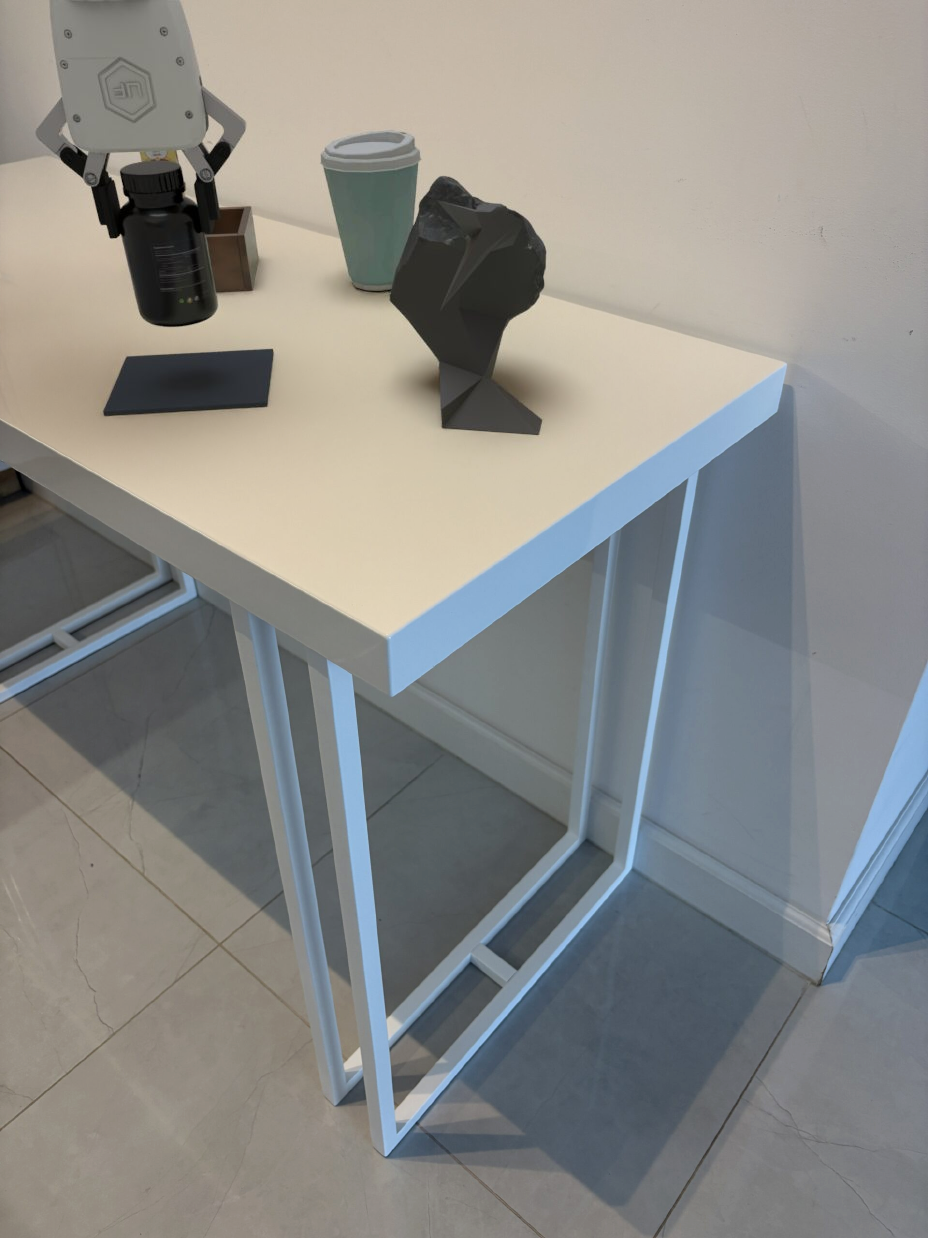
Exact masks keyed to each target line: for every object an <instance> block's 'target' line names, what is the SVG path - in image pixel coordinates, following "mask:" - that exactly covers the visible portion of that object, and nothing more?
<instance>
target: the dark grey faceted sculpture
mask: <svg viewBox="0 0 928 1238" xmlns="http://www.w3.org/2000/svg"><path fill="white" fill-rule="evenodd" d="M546 268H547V248H546V245H545V243H544V241H543V240H542V238H541V237H540V236H539V235H538V234H537V232H536V230H535V228H534V227H533V225H532V223H531V222H530V220H528V218H527V217H525V216H524V215H522V214H521V213H519V212H518V211H516V210H514V209H510V208H509V207H507V205H505V204H502V203H497V202H496V203H494V202H487V201H485V200H484V201H483V200H482V199H480V198H479V197H476V196H473V195H472V194H471V193H470V192H469V191H468V190H467V189H466V188H465V187H464V186H463V185H462V184H461V183H460V182H459V181H458V180H456V179H455V178H453V177H451V176H447V175H440V176H438V177H437V178H436V179H435V180H434V181H433V183H432V184H431V185H430V187H429V189H428V191H427V192H426V193H425V195H424V196H423V197H422V198H421V199H420V201H419V203H418V212H417V216H416V217H415V220H414V223H413V227H412V229H411V231H410V234H409V237H408V240H407V242H406V245H405V248H404V251H403V253H402V256H401V258H400V262H399V264H398V266H397V268H396V271H395V276H394V280H393V284H392V288H391V289H390V294H389V302H390V303H391V304H392V305H393V307H395V309H397V310H398V311H399V313H400V314H401V315H402V316H403V317H404V318H405V320H406V321H408V323H409V324H410V326H411V327H412V328H413V329H414V331H415V332H416V333H417V334H418V336H419V337H420V338H421V340H422V341H423V342H424V343H425V345H426V346H427V347H428V349H429V350H430V351H431V353H432V354H433V355H434V357H435V358H436V360H437V361H438V379H439V398H440V399H439V400H440V401H439V402H440V416H441V417H440V418H441V419H440V420H441V428H442V429H443V428H444V429H457V430H470V431H471V430H473V431H485V432H500V433H511V434H513V433H514V434H528V435H540V431H541V427H542V424H543V423H542V422H543V419H542V418H541V417H540V416H538V414H536V413H535V412H534V411H532V410H531V409H530V408H528V406H526V405H525V404H524V403H523V402H521V401H520V400H519V399H517V398H516V397H515V396H514V395H513V394H511V393H510V392H509V391H508V390H507V389H505V388H504V387H503V386H502V385H500V384H499V383H498V382H496V381H495V380H494V379H493V375H494V370H495V367H496V363H497V359H498V354H499V351H500V347H501V343H502V338H503V334H504V332H505V330H506V329H507V326H508V324H509V323H510V321H511V320H513V319H515V318H516V317H518V316H519V315H522V314H524V313H525V312H528V311H529V310H530V309H531V308H532V307H533V306H534V305H535V304H536V303H537V302H538V300H539V299H540V296H541V293H542V291H543V290H544V289H545V279H544V276H545V272H546Z"/></svg>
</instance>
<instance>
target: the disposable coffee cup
mask: <svg viewBox="0 0 928 1238" xmlns="http://www.w3.org/2000/svg"><path fill="white" fill-rule="evenodd" d="M415 140H416V139H415V136H413V135H412V134H410V133H409V132H406V131H401V130H394V129H389V130H377V131H368V132H363V133H358V134H352V135H347V136H345V137H342V138H339V139H336V140H332V141H331V142H330V143H328V144H327V145H325V147H324V150H323V151H321V153H320V165H321V166H322V167H323V171H324V176H325V180H326V184H327V188H328V193H329V197H330V201H331V205H332V209H333V214H334V218H335V222H336V226H337V231H338V235H339V239H340V243H341V247H342V252H343V256H344V260H345V264H346V267H347V273H348V277H349V278H350V279H351V283H352V284H353V286H354V287H355V288H357V289H360V290H363V291H373V292H374V291H378V292H380V291H381V292H383V291H388V290H390V291H391V288H392V284H393V280H394V276H395V271H396V268H397V266H398V264H399V262H400V258H401V256H402V253H403V251H404V248H405V245H406V242H407V240H408V237H409V234H410V231H411V229H412V227H413V225H414V223H415V209H416V197H417V183H418V174H419V162H420V161H422V158H421V150H420V149H419V148H418V147H416V141H415Z"/></svg>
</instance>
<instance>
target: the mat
mask: <svg viewBox="0 0 928 1238" xmlns="http://www.w3.org/2000/svg"><path fill="white" fill-rule="evenodd" d="M273 360H274V348H260V349H242V350H241V349H240V350H221V351H220V350H219V351H206V352H205V351H203V352H185V353H184V352H181V353H165V354H164V353H162V354H147V355H145V354H144V355H127V356H126V357H125V358H124V361H123V363H122V366H121V368H120V371H119V373H118V375H117V377H116V380H115V382H114V385H113V387H112V389H111V391H110V394H109V397H108V399H107V401H106V403H105V405H104V408H103V411H102V414H103V416H117V415H118V416H119V415H134V414H150V413H151V414H153V413H155V414H156V413H170V412H188V411H204V410H205V411H206V410H219V409H222V410H223V409H238V408H239V409H240V408H241V409H242V408H258V407H267V406H268V402H269V401H268V400H269V393H270V386H271V376H272V368H273Z"/></svg>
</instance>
